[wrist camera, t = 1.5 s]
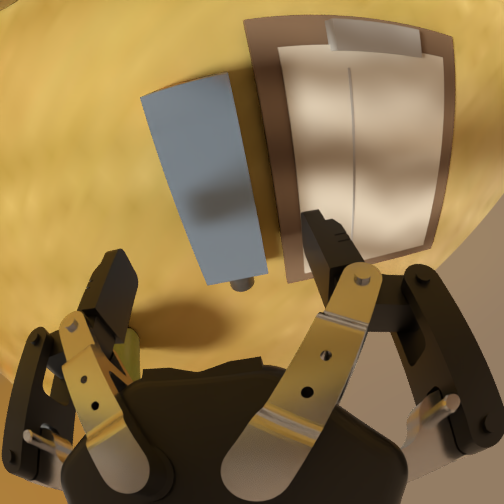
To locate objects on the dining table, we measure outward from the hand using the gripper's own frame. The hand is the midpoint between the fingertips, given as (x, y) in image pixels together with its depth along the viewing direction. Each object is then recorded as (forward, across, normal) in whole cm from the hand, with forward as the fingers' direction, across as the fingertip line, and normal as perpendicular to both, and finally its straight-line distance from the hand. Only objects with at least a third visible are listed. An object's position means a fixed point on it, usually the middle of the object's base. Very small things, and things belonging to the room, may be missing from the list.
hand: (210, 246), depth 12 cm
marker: (+7, 0, 0) cm, 7 cm away
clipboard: (+7, -11, 0) cm, 13 cm away
